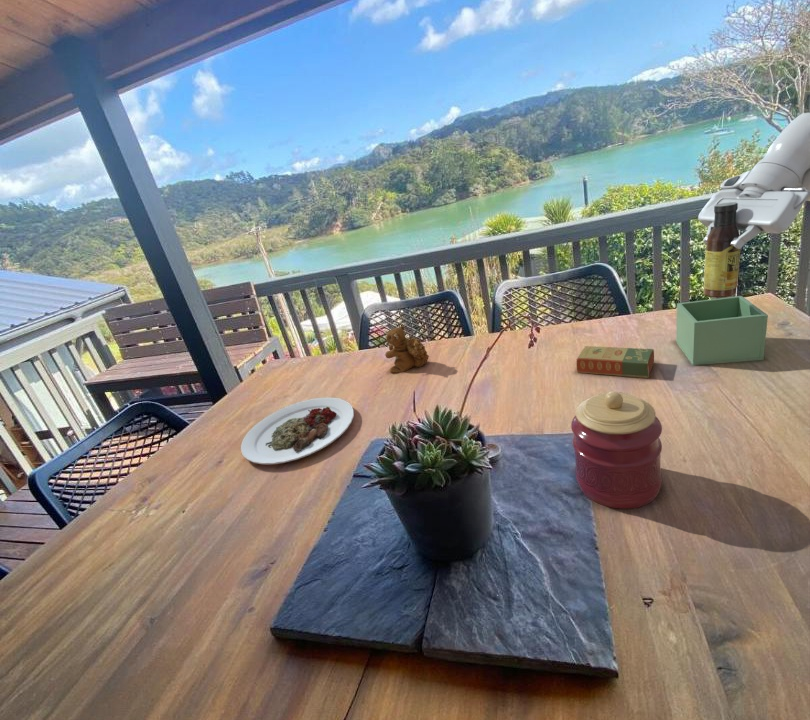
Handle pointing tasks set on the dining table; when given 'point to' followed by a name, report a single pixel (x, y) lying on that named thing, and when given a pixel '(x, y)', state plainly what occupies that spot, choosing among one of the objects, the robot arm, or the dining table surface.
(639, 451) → the kitchen canister
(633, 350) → the carton
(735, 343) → the bin
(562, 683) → the dining table surface
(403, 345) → the stuffed squirrel
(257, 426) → the plated food
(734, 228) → the sauce bottle
